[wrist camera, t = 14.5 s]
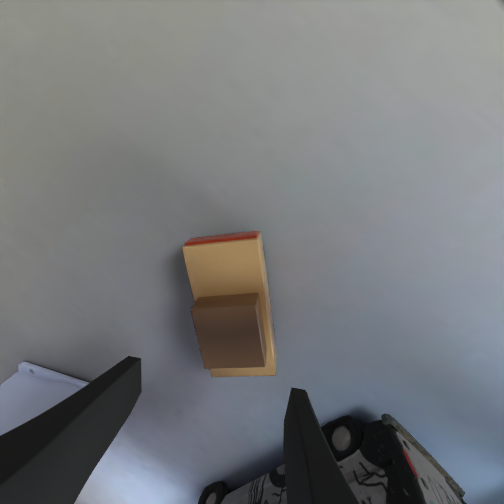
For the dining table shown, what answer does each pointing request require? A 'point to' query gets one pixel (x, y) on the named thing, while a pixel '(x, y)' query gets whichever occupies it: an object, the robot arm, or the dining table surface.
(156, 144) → the dining table surface
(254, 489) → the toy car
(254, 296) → the wooden car
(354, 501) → the robot arm
